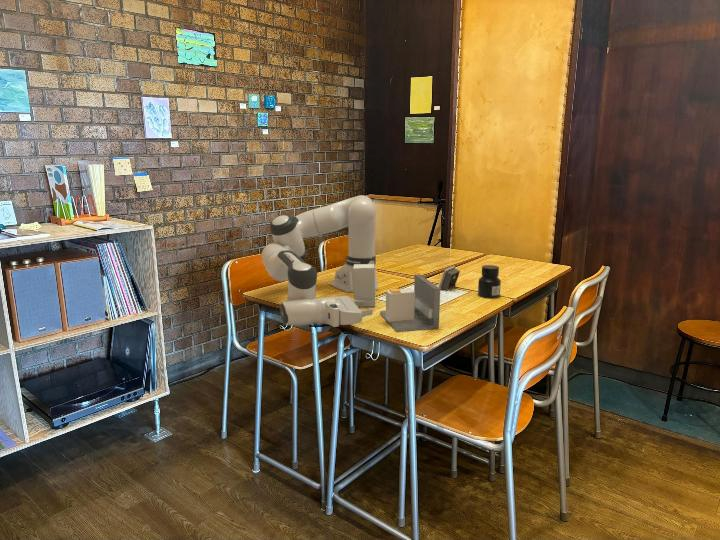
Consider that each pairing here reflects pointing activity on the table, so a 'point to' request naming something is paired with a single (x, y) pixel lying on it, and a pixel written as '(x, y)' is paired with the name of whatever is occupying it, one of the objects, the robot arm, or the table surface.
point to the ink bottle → (489, 282)
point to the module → (400, 304)
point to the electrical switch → (449, 278)
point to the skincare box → (364, 283)
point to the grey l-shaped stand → (421, 307)
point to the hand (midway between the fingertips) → (368, 307)
